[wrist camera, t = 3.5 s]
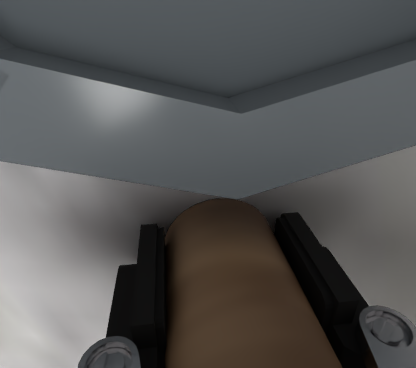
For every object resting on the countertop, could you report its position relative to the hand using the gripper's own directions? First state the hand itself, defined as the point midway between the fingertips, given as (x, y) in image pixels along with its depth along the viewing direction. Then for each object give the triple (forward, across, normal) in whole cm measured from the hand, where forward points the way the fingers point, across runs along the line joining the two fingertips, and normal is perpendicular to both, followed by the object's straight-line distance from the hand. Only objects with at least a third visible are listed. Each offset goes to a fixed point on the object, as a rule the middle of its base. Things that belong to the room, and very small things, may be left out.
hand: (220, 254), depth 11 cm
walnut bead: (+1, 0, 0) cm, 1 cm away
